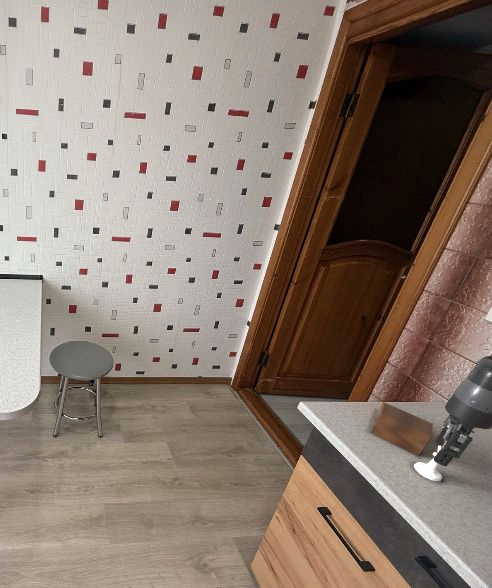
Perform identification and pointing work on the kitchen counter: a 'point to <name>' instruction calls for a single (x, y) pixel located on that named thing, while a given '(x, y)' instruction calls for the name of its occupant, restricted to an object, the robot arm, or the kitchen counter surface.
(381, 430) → the wood grain box
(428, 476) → the chess piece
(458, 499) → the kitchen counter surface
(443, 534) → the kitchen counter surface
